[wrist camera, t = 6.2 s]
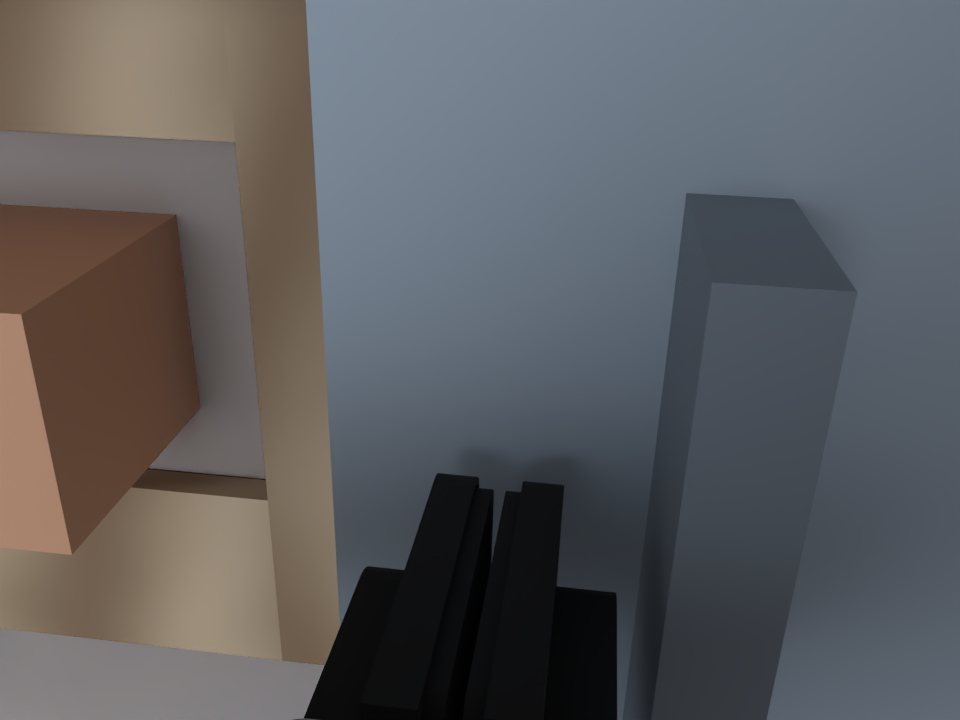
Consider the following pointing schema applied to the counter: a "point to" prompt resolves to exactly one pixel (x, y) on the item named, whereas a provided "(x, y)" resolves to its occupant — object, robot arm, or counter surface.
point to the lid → (663, 322)
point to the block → (86, 365)
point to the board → (274, 315)
